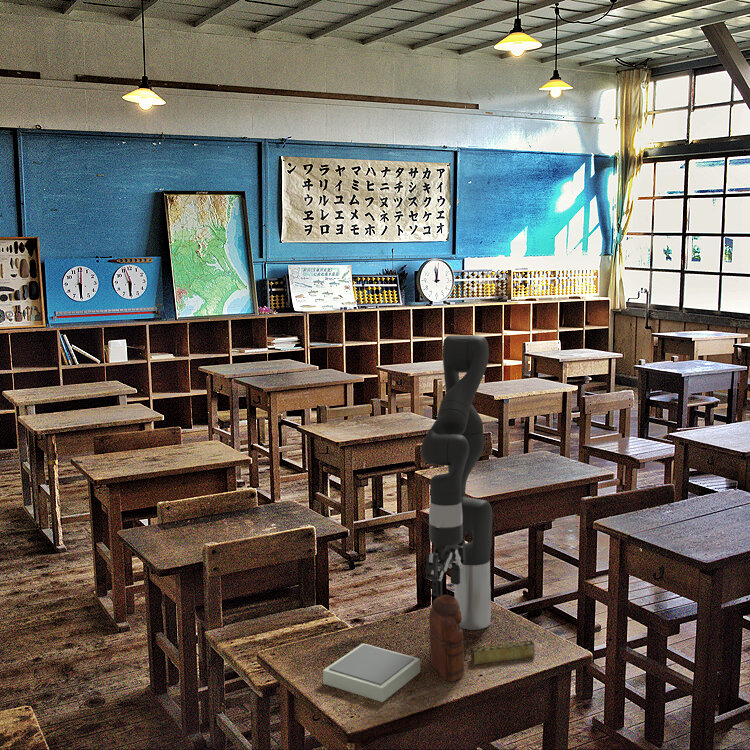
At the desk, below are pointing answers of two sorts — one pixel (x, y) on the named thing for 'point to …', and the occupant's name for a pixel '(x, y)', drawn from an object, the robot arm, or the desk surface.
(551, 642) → the desk surface
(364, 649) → the plinth
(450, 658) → the wooden figurine
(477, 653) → the decorative block
